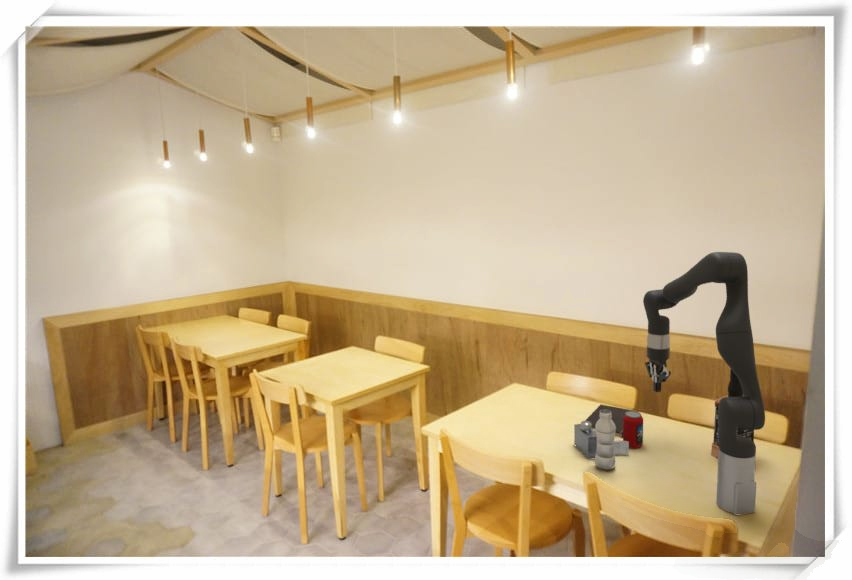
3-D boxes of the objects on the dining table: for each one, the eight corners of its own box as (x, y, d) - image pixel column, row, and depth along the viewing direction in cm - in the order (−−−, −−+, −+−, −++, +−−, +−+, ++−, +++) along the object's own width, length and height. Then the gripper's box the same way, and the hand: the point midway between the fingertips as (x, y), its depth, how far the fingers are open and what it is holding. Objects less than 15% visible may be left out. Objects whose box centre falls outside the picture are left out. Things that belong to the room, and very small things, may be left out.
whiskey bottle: (708, 453, 191) (712, 365, 185) (730, 447, 195) (734, 361, 189) (734, 467, 182) (739, 374, 176) (756, 460, 185) (762, 369, 179)
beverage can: (644, 449, 197) (645, 418, 194) (624, 448, 198) (624, 417, 196) (640, 441, 203) (641, 410, 201) (621, 440, 205) (622, 409, 202)
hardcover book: (581, 430, 216) (581, 424, 216) (600, 409, 234) (600, 404, 234) (622, 439, 207) (622, 433, 206) (639, 416, 225) (639, 411, 225)
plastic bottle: (599, 460, 191) (599, 406, 187) (618, 466, 186) (619, 410, 183) (591, 468, 186) (591, 412, 182) (611, 474, 181) (611, 417, 178)
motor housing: (610, 438, 207) (610, 411, 205) (629, 455, 193) (630, 426, 191) (572, 443, 204) (572, 415, 202) (589, 461, 191) (589, 431, 189)
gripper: (679, 349, 189) (677, 396, 193) (657, 339, 202) (656, 383, 205) (659, 351, 188) (657, 399, 191) (638, 341, 201) (637, 386, 204)
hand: (657, 391), depth 198 cm, fingers closed
